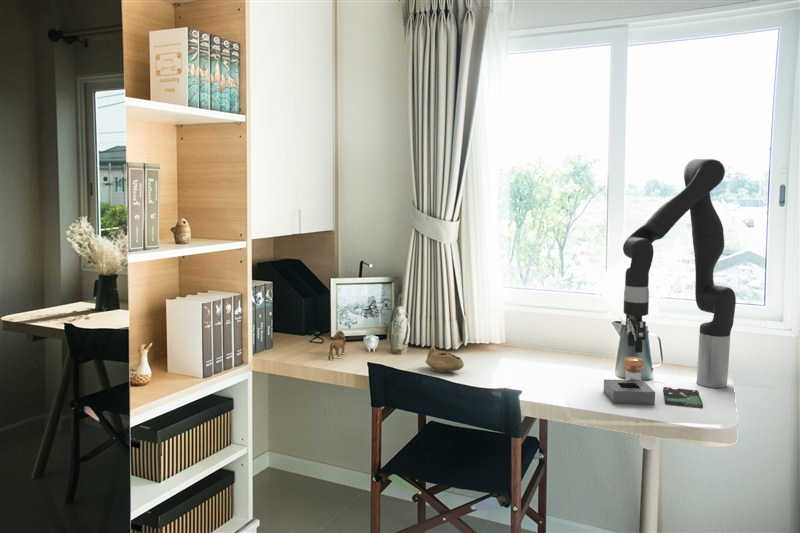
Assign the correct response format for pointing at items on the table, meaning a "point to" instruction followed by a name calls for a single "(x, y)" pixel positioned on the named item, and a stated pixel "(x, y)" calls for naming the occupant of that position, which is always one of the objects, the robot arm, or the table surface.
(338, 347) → the lion figurine
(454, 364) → the oil lamp
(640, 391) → the housing
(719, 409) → the table surface
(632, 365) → the capped jar
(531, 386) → the table surface
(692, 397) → the disk drive
